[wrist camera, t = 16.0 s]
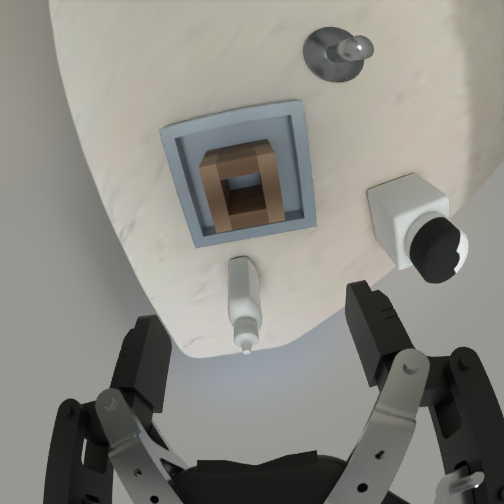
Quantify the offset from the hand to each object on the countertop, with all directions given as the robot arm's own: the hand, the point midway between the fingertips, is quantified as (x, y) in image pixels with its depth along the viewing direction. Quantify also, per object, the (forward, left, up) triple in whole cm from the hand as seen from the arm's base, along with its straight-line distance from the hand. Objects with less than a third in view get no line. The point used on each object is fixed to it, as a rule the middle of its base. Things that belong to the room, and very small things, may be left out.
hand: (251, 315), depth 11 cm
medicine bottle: (+7, +18, -20) cm, 27 cm away
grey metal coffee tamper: (-11, +11, -20) cm, 25 cm away
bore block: (0, 0, -19) cm, 19 cm away
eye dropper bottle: (+13, -2, -20) cm, 24 cm away
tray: (0, 0, -20) cm, 20 cm away
